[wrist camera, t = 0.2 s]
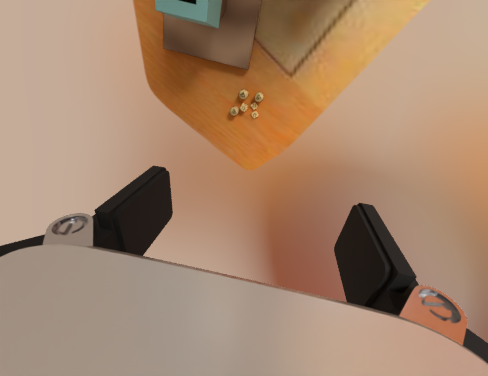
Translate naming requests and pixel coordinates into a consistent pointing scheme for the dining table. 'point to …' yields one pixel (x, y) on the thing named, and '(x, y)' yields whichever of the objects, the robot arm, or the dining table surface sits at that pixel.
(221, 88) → the dining table surface
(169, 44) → the stand
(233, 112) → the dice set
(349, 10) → the dining table surface
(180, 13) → the collar
